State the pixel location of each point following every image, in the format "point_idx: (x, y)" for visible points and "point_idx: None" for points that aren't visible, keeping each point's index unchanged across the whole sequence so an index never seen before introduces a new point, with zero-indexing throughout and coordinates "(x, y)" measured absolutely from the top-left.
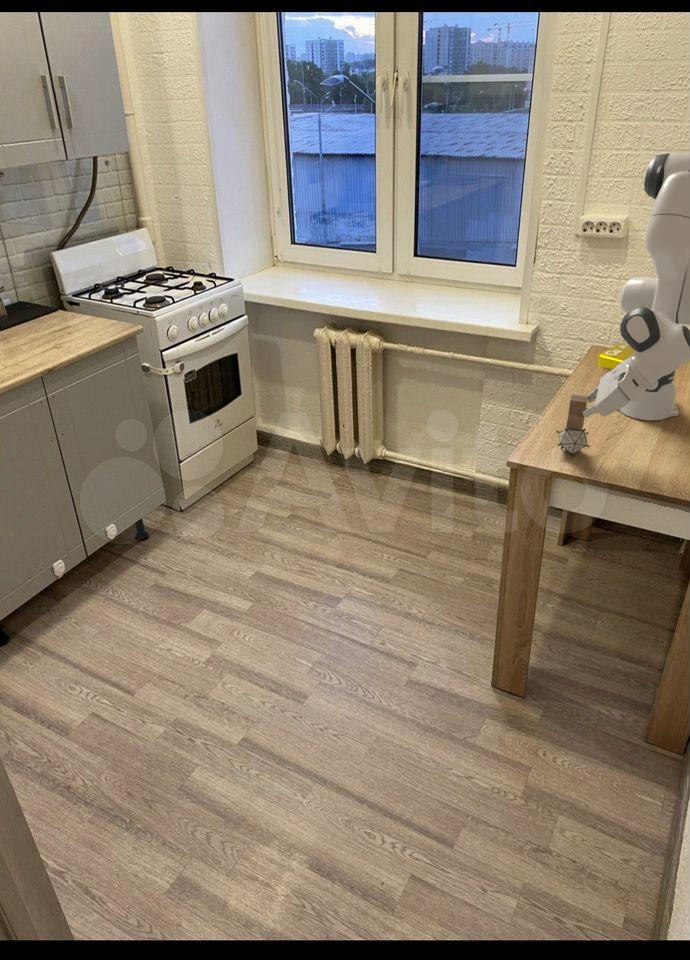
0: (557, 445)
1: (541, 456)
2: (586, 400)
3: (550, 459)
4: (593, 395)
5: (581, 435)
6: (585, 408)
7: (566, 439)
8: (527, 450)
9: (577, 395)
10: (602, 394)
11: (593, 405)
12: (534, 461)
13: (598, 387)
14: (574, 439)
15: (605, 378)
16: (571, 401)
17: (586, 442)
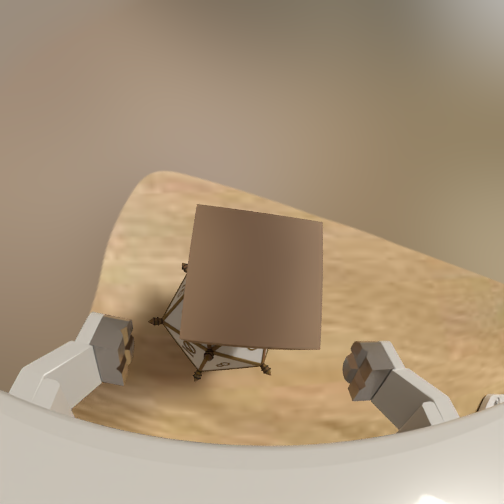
0: (182, 263)
1: (170, 230)
2: (217, 339)
3: (154, 256)
4: (384, 385)
5: (193, 344)
6: (186, 340)
7: (184, 287)
8: (202, 191)
9: (308, 263)
10: (21, 484)
11: (36, 380)
12: (136, 211)
13: (432, 415)
14: (173, 316)
15: (495, 461)
16: (195, 217)
17: (201, 368)
